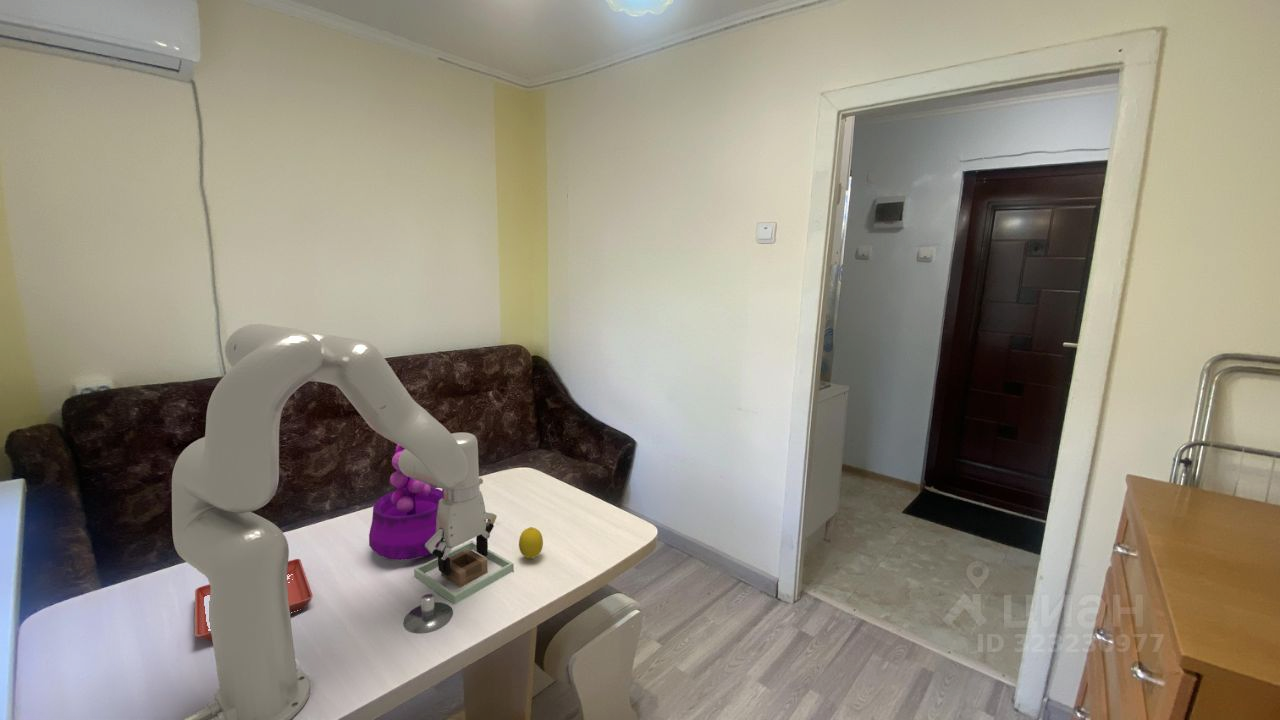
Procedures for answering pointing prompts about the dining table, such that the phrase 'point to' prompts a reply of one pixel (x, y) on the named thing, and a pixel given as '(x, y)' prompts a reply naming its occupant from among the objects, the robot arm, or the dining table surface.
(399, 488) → the decorative plant
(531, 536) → the lemon
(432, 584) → the green rectangular frame
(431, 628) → the peg on round base
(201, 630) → the plant saucer
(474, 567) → the wooden square frame
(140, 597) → the dining table surface
